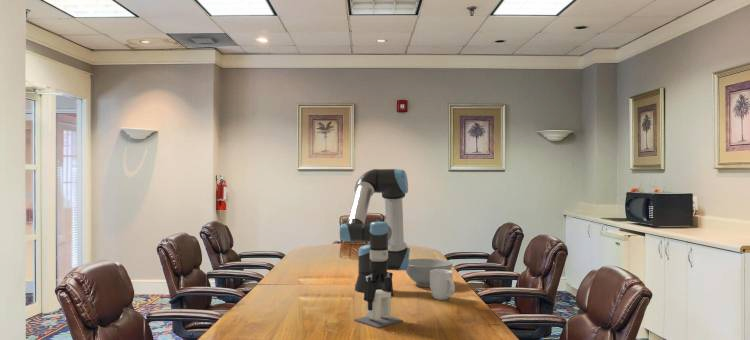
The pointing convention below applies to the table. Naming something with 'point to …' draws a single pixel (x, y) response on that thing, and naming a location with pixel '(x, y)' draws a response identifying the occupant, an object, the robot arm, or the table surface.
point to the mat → (378, 321)
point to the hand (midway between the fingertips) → (378, 316)
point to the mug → (441, 284)
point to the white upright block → (381, 304)
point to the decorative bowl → (425, 269)
